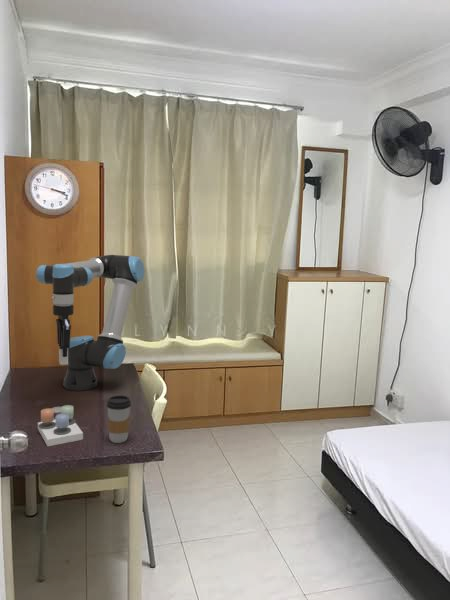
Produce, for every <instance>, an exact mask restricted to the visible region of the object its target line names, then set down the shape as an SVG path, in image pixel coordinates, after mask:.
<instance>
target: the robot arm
mask: <svg viewBox="0 0 450 600" xmlns="http://www.w3.org/2000/svg"><path fill="white" fill-rule="evenodd" d="M35 274H36V275H35V278H36V280H37V281H38V282H39V283H41V284H45V285H52V296H51V299H52V304H53V305H52V314H53V315H54V316H57V318H56V320H55V322H56V334H57V335H56V340H57V344H58V363H59V365H61V366H64V365H67V369H66V373H65V376H64V378H63V386H64V387H65V388H66V390H68V389H69V390H68V391H75V392H76V391H77V392H79V391H80V392H81V391H88V390H92V389H95V388H96V387H97V386H98V379H97V375H96V372H95V370H94V368H95V367H97V368H102V369H106V370H108V369H111V370H115V369H118V368H120V366H121V365H122V364H123V362H124V360H125V358H126V353H127V351H126V346H125V344H124V340H123V339H122V333H123V329H124V325H125V321H126V317H127V312H128V307H129V304H130V301H131V300H130V299H131V296H132V292H133V289H134V288H136V287H137V286H138V285H137V284H138V282H139V283H140V282H142V280H143V279H144V277H145V266H144V262H143V260H142V259H141V258H140V257H139V256H133V255H119V254H106V255H100V256H95V257H90V258H89V259H87V260H82V261H75V262H68V263H55V264H54V265H49V264H42V265H39V266H38V267H37V269H36V272H35ZM93 278H95V279H98V278H101V279H102V278H103V279H111V281H112V283H113V284H114V285H113V289H112V292H111V296H110V301H109V304H108V308H107V311H106V312H107V313H106V317H105V321H104V325H103V328H102V332H101V333H100V334H98V335H97V339H96V340H95V338H94V336H93V335H80V336H74V337H71V330H72V324H71V320H70V319H69V316H72V315H74V307H75V306H74V296H75V295H74V288H79V287H86V286H88V285H90V284H91V283H92V282H93ZM64 387H63V388H64ZM65 388H64V389H65Z"/></svg>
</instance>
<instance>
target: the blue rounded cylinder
mask: <svg viewBox="0 0 450 600" xmlns="http://www.w3.org/2000/svg"><path fill="white" fill-rule="evenodd" d="M55 416H56V427H57V428H65V427H68V426H69V415H68V414H66V413H56V415H55Z"/></svg>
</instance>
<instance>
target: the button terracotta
mask: <svg viewBox="0 0 450 600" xmlns="http://www.w3.org/2000/svg"><path fill="white" fill-rule="evenodd" d="M51 408H52V407H51ZM51 408H49V407H48V408H47V407H45V408H43V409H41V410H40V422H44V423H47V422H52V421H53V420H54V418H55V417H54V416H55V413H54V409H51Z"/></svg>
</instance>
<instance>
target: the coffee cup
mask: <svg viewBox="0 0 450 600" xmlns="http://www.w3.org/2000/svg"><path fill="white" fill-rule="evenodd" d="M131 402H132V401H131V399H130V397H129V396H127V395H112V396H109V398H108V401H106V407H107V425H108V435H109V441H110V442H111V443H113V444H122V443H125V442H126V441H127V440H128V438H129V429H130V418H131V407H132V403H131Z"/></svg>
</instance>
